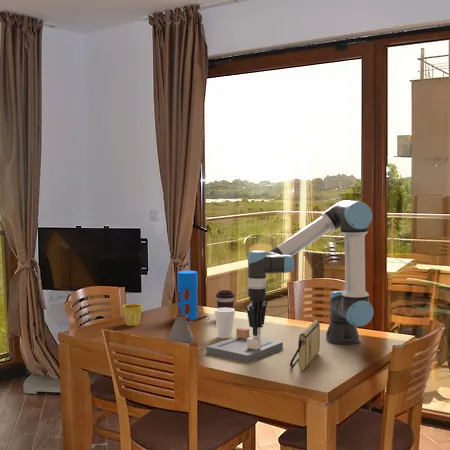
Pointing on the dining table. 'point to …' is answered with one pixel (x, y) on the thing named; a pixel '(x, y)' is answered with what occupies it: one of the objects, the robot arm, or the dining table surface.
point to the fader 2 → (253, 343)
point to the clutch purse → (308, 345)
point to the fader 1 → (242, 333)
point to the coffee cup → (225, 299)
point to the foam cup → (224, 321)
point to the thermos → (187, 294)
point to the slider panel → (243, 349)
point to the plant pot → (132, 314)
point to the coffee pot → (182, 329)
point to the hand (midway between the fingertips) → (256, 342)
